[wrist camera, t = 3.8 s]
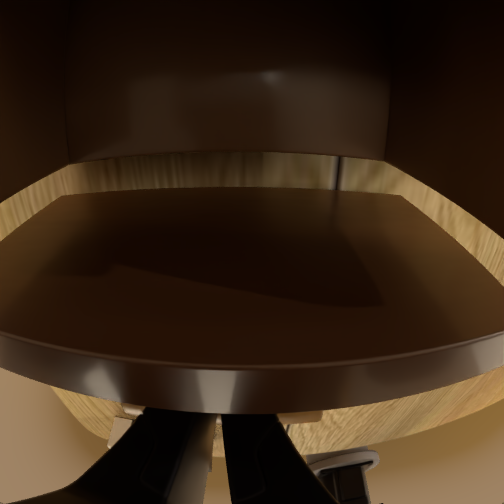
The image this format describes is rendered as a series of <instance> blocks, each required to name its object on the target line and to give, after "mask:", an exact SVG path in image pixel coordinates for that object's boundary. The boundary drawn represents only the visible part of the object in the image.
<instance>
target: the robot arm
mask: <svg viewBox="0 0 504 504" xmlns="http://www.w3.org/2000/svg"><path fill="white" fill-rule="evenodd" d="M217 415H218V413H201V412H188V411H177V410H168V409H160V408H152V407H145V408H144V409H143V411H142V414H139V416H138V417H137V418H136V419H135V421H134V422H133V423H132V425H131V426H130V427H129V428H128V429H127V431H126V432H125V433H124V434H123V435H122V437H121V438H120V439H119V440H118V441H117V442H116V443H115V444H114V445H113V446H112V447H111V448H110V449H109V450H108V451H107V452H106V453H105V454H104V455H103V456H102V457H101V458H100V459H99V460H98V461H96V463H94V464H93V465H92V466H91V467H90V468H89V469H88V470H87V471H86V472H85V473H84V474H83V475H82V476H81V477H79V478H78V479H77V480H76V481H74V482H73V483H71V484H70V485H68V486H66V487H64V488H62V489H59V490H56V491H53V492H50V493H47V494H43V495H40V496H37V497H33V498H29V499H25V500H21V501H17V502H12V503H8V504H203V499H204V492H205V487H206V480H207V474H208V469H209V463H210V457H211V451H212V445H213V439H214V433H215V427H216V421H217ZM221 423H222V432H223V441H224V450H225V458H226V466H227V473H228V481H229V488H230V495H231V502H232V504H371V501H370V497H369V491H368V486H367V481H366V476H365V471H366V470H367V469H368V468H369V467H371V466H372V465H373V464H374V462H373V460H372V461H367V462H363V463H358V464H353V465H347V466H342V467H336V468H329V469H323V470H320V471H319V472H318V473H317V474H316V475H315V474H314V473H313V471H312V470H311V469H310V467H309V466H308V465H307V464H306V462H305V461H304V459H303V458H302V457H301V455H300V454H299V452H298V451H297V449H296V448H295V446H294V444H293V443H292V441H291V439H290V438H289V436H288V434H287V432H286V431H285V429H284V427H283V425H282V423H281V422H280V421H279V418H278V416H277V414H221ZM0 504H3V503H1V502H0ZM381 504H383V503H381ZM503 504H504V503H503Z"/></svg>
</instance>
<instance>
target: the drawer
mask: <svg viewBox="0 0 504 504" xmlns="http://www.w3.org/2000/svg"><path fill="white" fill-rule="evenodd" d="M192 152H281V153H301V154H317V155H330V156H341V157H351V158H361V159H369V160H377V161H385V162H386V163H388V164H390V165H392V166H394V167H396V168H398V169H399V170H401V171H403V172H405V173H407V174H408V175H410V176H412V177H414V178H415V179H417V180H419V181H420V182H422V183H424V184H425V185H427V186H429V187H430V188H432V189H433V190H435V191H437V192H438V193H440V194H441V195H443V196H445V197H446V198H448V199H449V200H451V201H452V202H454V203H455V204H457V205H458V206H460V207H461V208H462V209H464V210H465V211H467V212H468V213H470V214H471V215H472V216H474V217H475V218H477V219H478V220H479V221H481V222H482V223H483V224H485V225H486V226H487V227H489V228H490V229H491V230H493V231H494V232H495V233H496V234H498V235H499V236H500V237H501V238H503V239H504V1H503V0H0V203H1V202H3V201H4V200H6V199H8V198H9V197H11V196H13V195H14V194H16V193H18V192H19V191H21V190H23V189H24V188H26V187H28V186H30V185H31V184H33V183H35V182H37V181H39V180H40V179H42V178H44V177H46V176H48V175H50V174H52V173H54V172H56V171H58V170H60V169H62V168H64V167H66V166H67V165H70V164H76V163H83V162H90V161H97V160H105V159H113V158H122V157H132V156H143V155H156V154H172V153H192ZM503 365H504V287H503V286H502V285H501V284H500V282H499V281H498V280H497V279H496V278H495V277H494V276H493V275H492V274H491V273H490V272H489V271H488V270H487V269H486V268H485V267H484V266H483V265H482V264H481V263H480V262H479V261H478V260H477V259H476V258H475V257H474V256H473V255H471V254H470V253H469V252H468V251H467V250H466V249H465V248H464V247H463V246H462V245H461V244H459V243H458V242H457V241H456V240H455V239H454V238H453V237H452V236H450V235H449V234H448V233H447V232H446V231H445V230H444V229H442V228H441V227H440V226H439V225H438V224H436V223H435V222H434V221H433V220H432V219H430V218H429V217H428V216H427V215H425V214H424V213H423V212H422V211H420V210H419V209H418V208H416V207H415V206H414V205H413V204H411V203H410V202H409V201H407V200H406V199H405V198H403V197H402V196H401V195H391V194H380V193H368V192H355V191H341V190H323V189H302V188H271V187H192V188H161V189H140V190H123V191H109V192H96V193H85V194H74V195H65V196H61V197H59V198H58V199H56V200H55V201H53V202H52V203H50V204H49V205H48V206H46V207H45V208H43V209H42V210H40V211H39V212H38V213H36V214H35V215H34V216H32V217H31V218H30V219H28V220H27V221H26V222H24V223H23V224H22V225H20V226H19V227H18V228H17V229H15V230H14V231H13V232H12V233H10V234H9V235H8V236H7V237H5V238H4V239H3V240H2V241H1V242H0V367H1V368H3V369H6V370H8V371H11V372H13V373H16V374H18V375H21V376H24V377H27V378H30V379H33V380H35V381H38V382H42V383H45V384H48V385H51V386H54V387H58V388H61V389H65V390H68V391H72V392H76V393H80V394H84V395H88V396H92V397H96V398H101V399H106V400H110V401H116V402H121V404H122V408H123V410H124V412H125V413H127V414H129V415H134V416H139V414H142V411H143V409H144V408H145V407H152V408H160V409H168V410H177V411H188V412H201V413H218V415H217V421H216V425H222V423H221V414H277V416H278V418H279V421H280V422H281V423H282V424H298V423H310V422H318V421H320V420H321V418H322V415H323V410H331V409H339V408H347V407H354V406H360V405H366V404H372V403H378V402H383V401H388V400H393V399H398V398H402V397H407V396H411V395H415V394H419V393H423V392H427V391H431V390H434V389H438V388H441V387H445V386H448V385H451V384H454V383H458V382H461V381H464V380H467V379H469V378H472V377H475V376H478V375H481V374H483V373H486V372H489V371H491V370H494V369H496V368H499V367H501V366H503Z"/></svg>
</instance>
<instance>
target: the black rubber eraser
mask: <svg viewBox="0 0 504 504" xmlns="http://www.w3.org/2000/svg"><path fill="white" fill-rule="evenodd" d="M134 421H135V420H130V419H124V418H119V417H115V419H114V422H113V426H112V429H111V433H110V437H109V440H108V444H107V446H108V447H109V448H111V447H112V446H113V445H114V444H115V443H116V442H117V441H118V440H119V439H120V438H121V437H122V435H123V434H124V433H125V432H126V431H127V429H128V428H129V427H130V426H131V425H132V423H133V422H134ZM212 453H213V445H212V451H211V457H210V463H209V469H208V472H211V470H212Z"/></svg>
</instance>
